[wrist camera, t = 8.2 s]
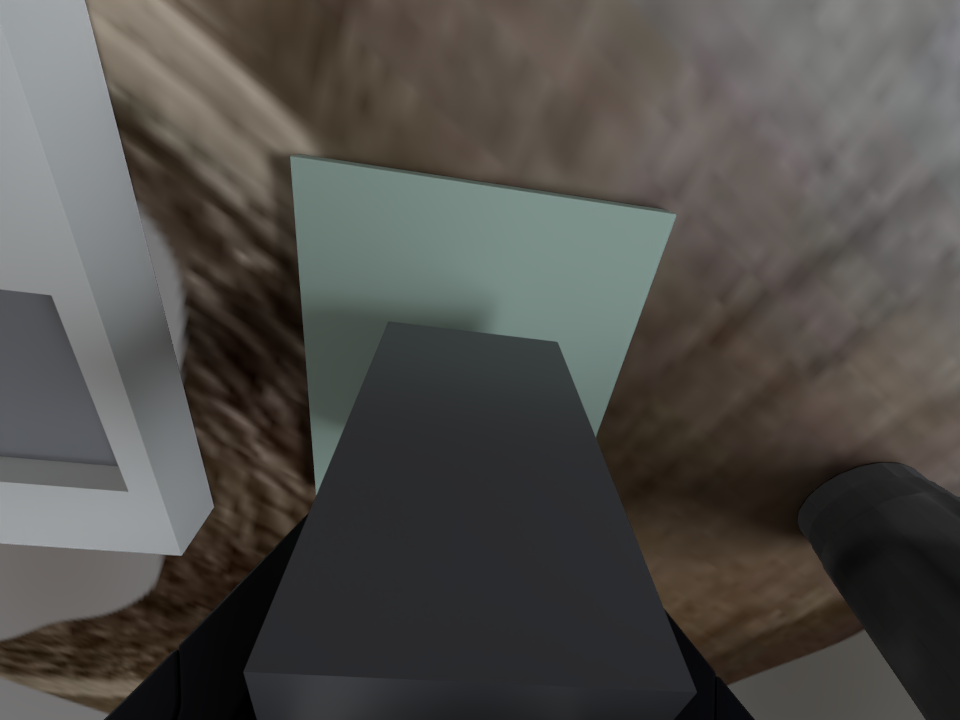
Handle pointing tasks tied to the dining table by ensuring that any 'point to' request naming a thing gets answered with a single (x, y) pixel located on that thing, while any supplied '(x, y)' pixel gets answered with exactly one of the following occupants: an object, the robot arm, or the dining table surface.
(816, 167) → the dining table surface
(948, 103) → the dining table surface
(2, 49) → the power strip
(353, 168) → the mat
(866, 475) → the beverage cup
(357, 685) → the block
